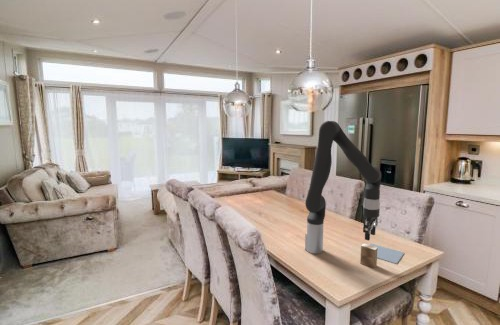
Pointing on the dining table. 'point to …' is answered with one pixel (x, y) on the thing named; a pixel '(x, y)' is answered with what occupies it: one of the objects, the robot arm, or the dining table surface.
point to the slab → (368, 255)
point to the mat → (388, 254)
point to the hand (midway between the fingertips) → (370, 237)
